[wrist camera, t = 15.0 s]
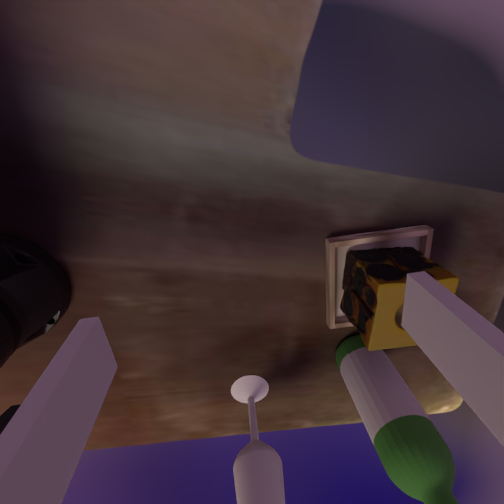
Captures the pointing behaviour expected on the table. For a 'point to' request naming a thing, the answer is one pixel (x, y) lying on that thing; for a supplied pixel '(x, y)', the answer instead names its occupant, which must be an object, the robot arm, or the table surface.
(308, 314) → the table surface
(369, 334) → the candle
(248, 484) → the champagne flute
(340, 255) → the slot frame
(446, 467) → the wine bottle
